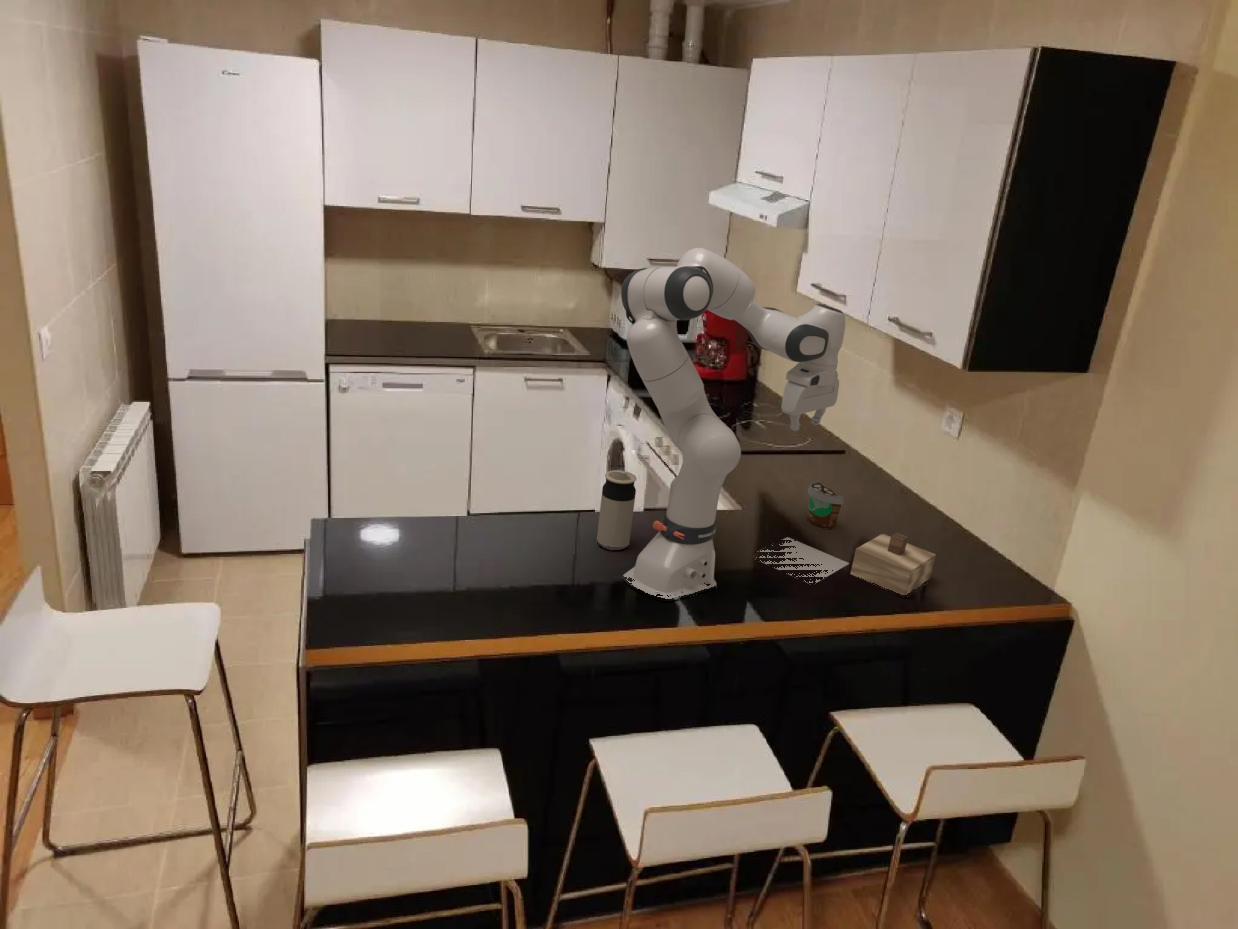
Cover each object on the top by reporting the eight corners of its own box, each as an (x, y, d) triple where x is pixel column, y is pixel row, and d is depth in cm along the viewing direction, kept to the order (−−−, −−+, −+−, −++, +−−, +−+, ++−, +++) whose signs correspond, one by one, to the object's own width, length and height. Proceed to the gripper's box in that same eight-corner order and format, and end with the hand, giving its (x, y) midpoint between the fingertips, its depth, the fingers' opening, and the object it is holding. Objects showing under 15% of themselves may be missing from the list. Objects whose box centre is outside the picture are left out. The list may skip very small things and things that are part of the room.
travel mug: (610, 554, 219) (618, 484, 212) (589, 541, 224) (597, 472, 218) (635, 547, 224) (644, 479, 217) (615, 534, 229) (623, 467, 223)
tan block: (903, 599, 214) (914, 555, 210) (849, 575, 222) (859, 533, 218) (928, 581, 224) (939, 539, 220) (876, 559, 232) (886, 519, 228)
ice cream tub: (793, 513, 254) (800, 480, 251) (812, 512, 257) (819, 479, 253) (817, 532, 244) (824, 498, 240) (837, 531, 246) (844, 497, 242)
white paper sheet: (812, 586, 214) (812, 584, 214) (748, 557, 225) (748, 556, 225) (849, 565, 227) (849, 563, 227) (787, 538, 238) (787, 537, 238)
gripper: (827, 364, 230) (816, 417, 235) (782, 373, 215) (771, 429, 220) (849, 371, 226) (837, 424, 231) (805, 380, 212) (793, 437, 216)
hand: (804, 427), depth 225 cm, fingers open, 8 cm apart
